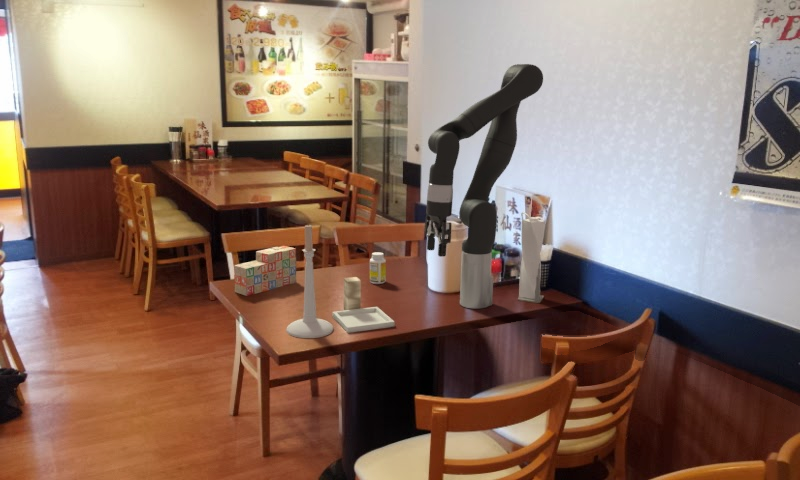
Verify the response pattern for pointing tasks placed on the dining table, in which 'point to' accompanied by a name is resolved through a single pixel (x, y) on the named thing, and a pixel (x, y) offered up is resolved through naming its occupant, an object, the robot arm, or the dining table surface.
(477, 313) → the dining table surface
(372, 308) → the tray
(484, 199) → the robot arm
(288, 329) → the candlestick
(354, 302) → the block
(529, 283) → the skyscraper
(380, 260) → the supplement bottle
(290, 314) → the dining table surface
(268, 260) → the stack of blocks
